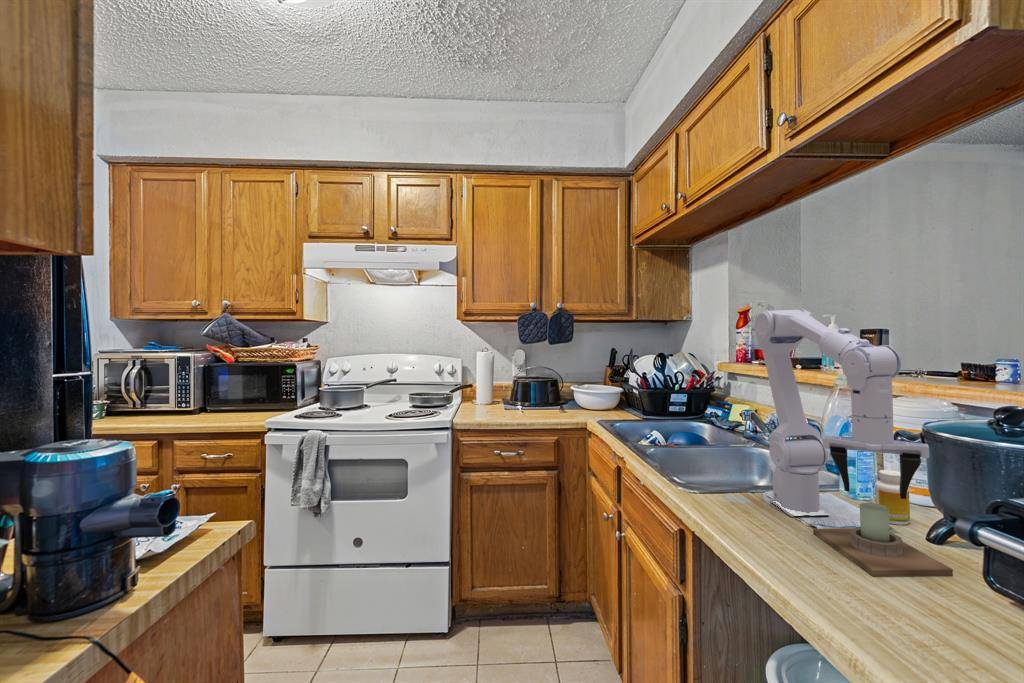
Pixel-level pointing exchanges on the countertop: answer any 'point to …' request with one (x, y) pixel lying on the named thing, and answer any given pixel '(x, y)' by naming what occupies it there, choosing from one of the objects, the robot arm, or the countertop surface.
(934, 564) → the holder
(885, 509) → the peg
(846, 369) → the robot arm
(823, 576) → the countertop surface
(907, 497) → the supplement bottle
